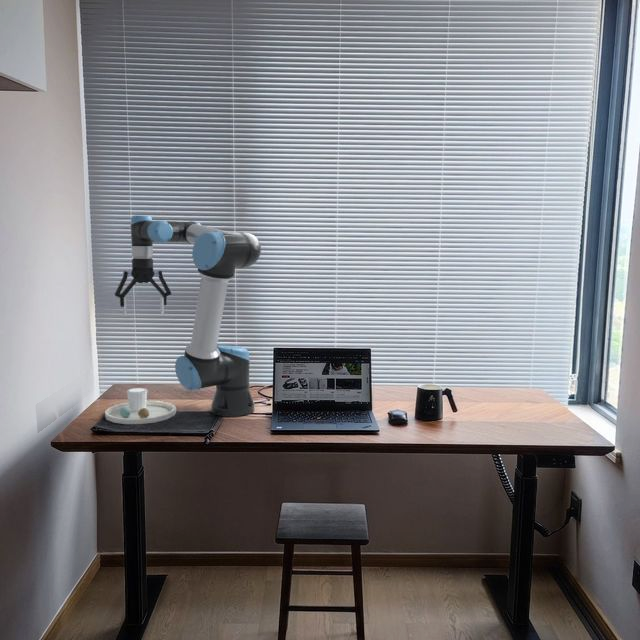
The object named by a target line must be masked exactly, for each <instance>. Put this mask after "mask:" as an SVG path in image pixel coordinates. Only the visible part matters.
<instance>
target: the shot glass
mask: <svg viewBox="0 0 640 640" xmlns="http://www.w3.org/2000/svg"><path fill="white" fill-rule="evenodd" d="M126 395H127V402H128V403H129V409H130V410H131V411H133V412H138V411H139V410H140V409H142V408H146V401H148V400H147V397H148V388H145V387H133V388H128V389H127V390H126Z"/></svg>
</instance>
